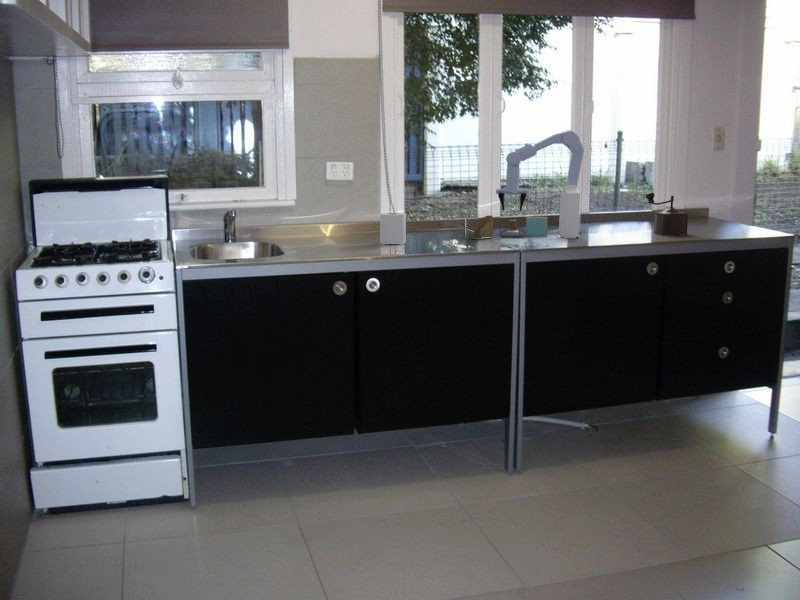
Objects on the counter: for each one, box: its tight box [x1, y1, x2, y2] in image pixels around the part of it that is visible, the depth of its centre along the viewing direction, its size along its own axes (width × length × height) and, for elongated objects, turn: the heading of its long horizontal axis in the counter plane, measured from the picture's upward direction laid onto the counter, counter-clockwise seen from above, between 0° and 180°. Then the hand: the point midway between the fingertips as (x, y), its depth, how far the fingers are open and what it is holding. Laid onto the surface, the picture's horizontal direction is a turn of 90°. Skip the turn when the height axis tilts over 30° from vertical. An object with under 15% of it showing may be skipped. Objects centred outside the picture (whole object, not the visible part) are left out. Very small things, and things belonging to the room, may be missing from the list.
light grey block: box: [379, 212, 407, 245], centre depth 351 cm, size 10×10×12 cm
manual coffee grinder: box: [644, 191, 689, 236], centre depth 372 cm, size 16×11×18 cm
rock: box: [471, 215, 494, 240], centre depth 365 cm, size 11×9×10 cm
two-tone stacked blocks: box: [506, 219, 519, 232], centre depth 384 cm, size 5×12×5 cm, turn 171°
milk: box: [558, 184, 581, 239], centre depth 364 cm, size 6×6×22 cm
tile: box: [525, 216, 548, 237], centre depth 372 cm, size 9×2×8 cm, turn 81°
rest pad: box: [501, 231, 525, 239], centre depth 372 cm, size 9×12×1 cm
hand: (511, 210), depth 385 cm, fingers open, 7 cm apart
